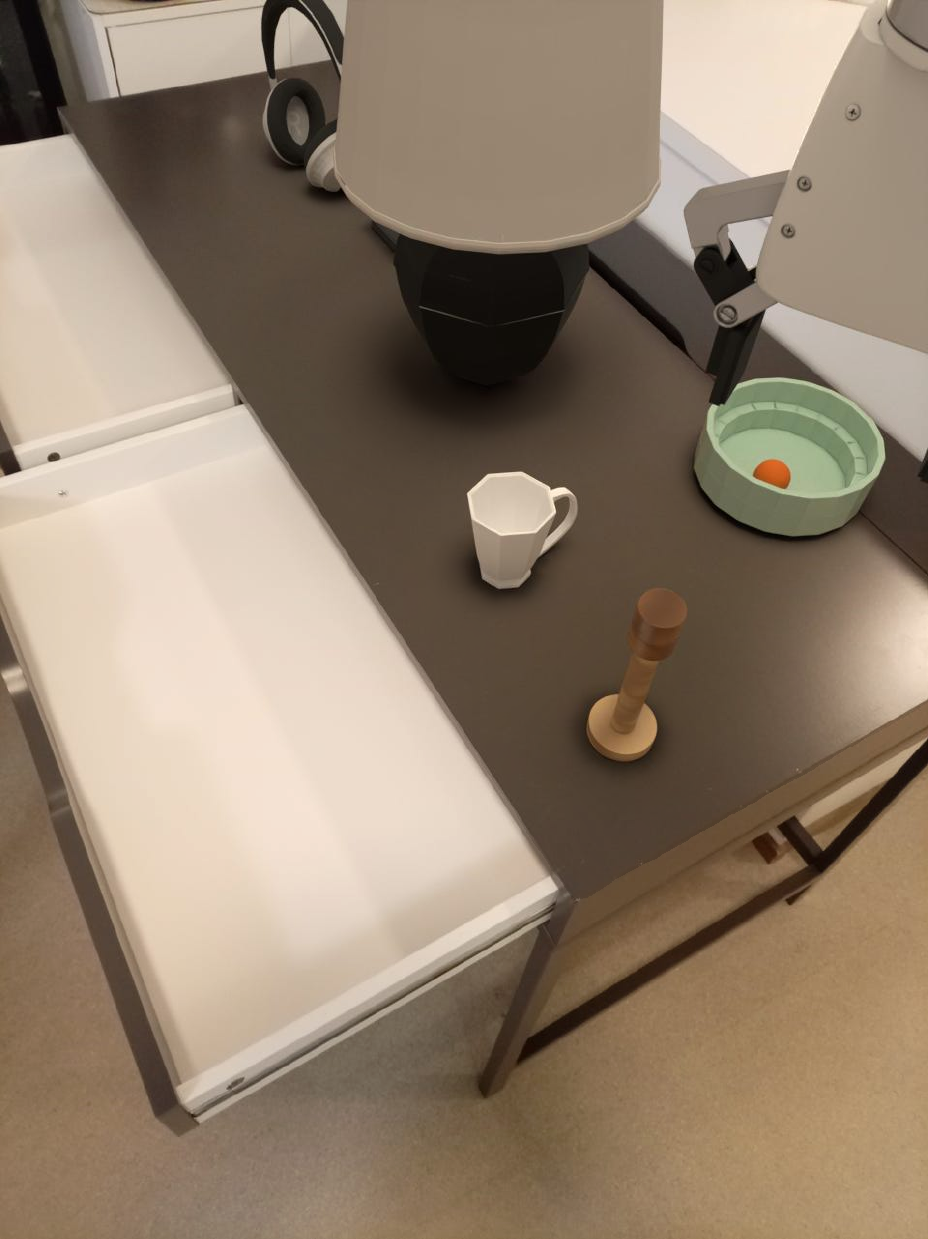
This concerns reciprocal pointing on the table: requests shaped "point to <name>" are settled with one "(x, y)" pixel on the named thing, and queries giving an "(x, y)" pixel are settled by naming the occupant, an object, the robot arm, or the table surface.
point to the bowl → (789, 456)
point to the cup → (514, 524)
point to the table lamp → (498, 158)
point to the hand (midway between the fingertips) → (825, 425)
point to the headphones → (301, 97)
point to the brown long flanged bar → (638, 679)
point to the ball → (773, 473)
